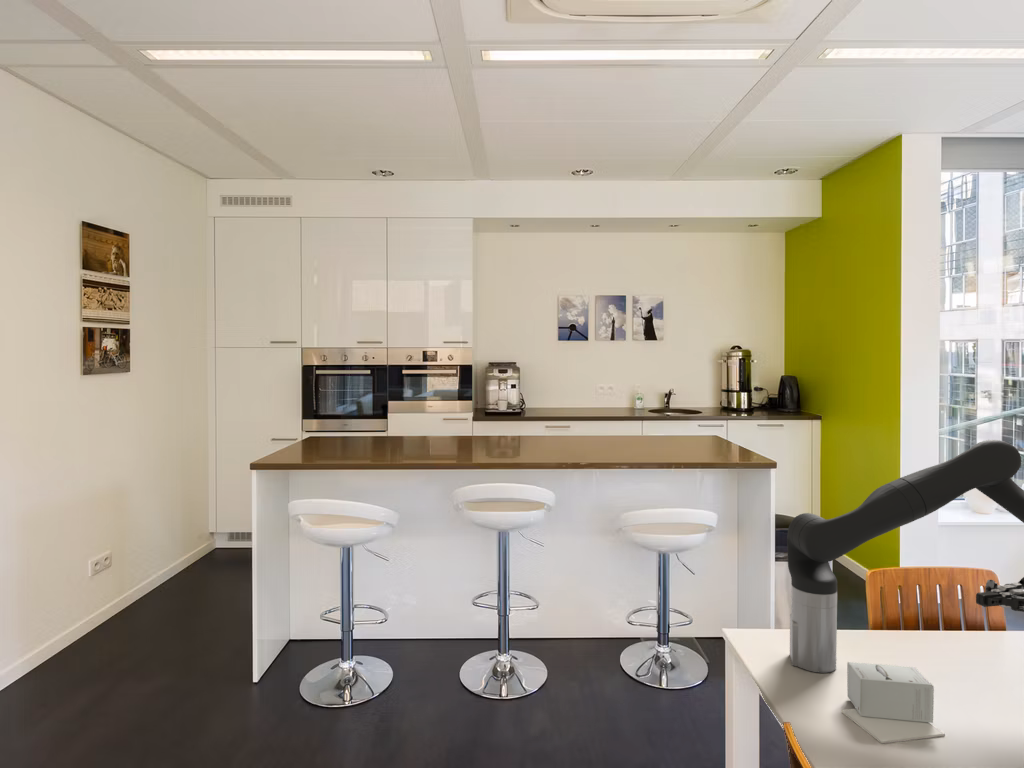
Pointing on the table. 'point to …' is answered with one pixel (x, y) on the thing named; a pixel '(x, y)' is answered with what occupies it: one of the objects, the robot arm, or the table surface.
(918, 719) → the supplement box
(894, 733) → the mat
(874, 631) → the table surface
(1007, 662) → the table surface
